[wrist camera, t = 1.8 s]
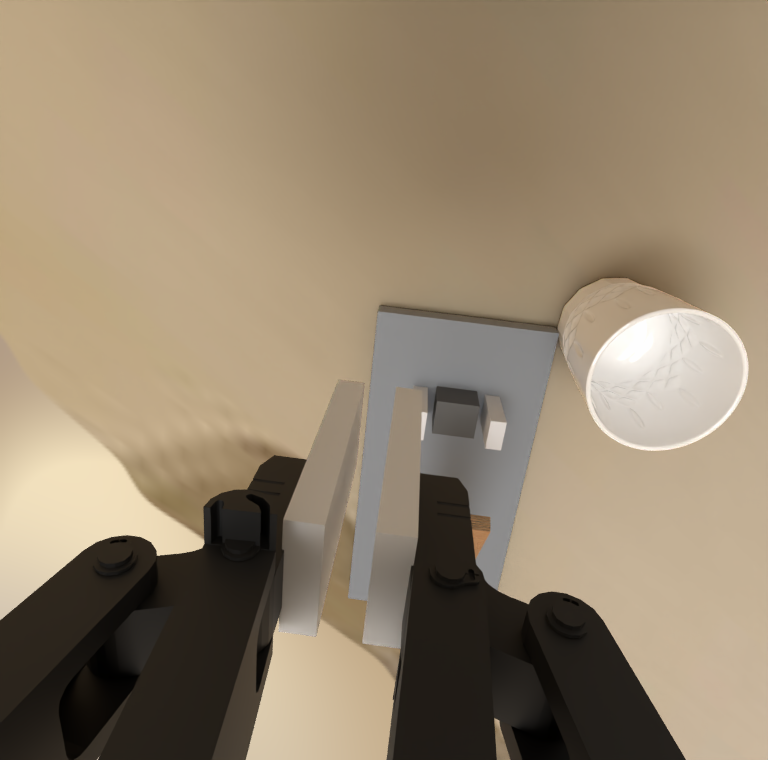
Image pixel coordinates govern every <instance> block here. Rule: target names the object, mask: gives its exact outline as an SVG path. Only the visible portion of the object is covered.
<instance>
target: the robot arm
mask: <svg viewBox="0 0 768 760" xmlns="http://www.w3.org/2000/svg"><path fill="white" fill-rule="evenodd" d="M364 384H365V383H362V382H354V381H346V380H338V382H337V385H336V388H335V390H334V393H333V395H332V398H331V400H330V403H329V405H328V408H327V410H326V413H325V415H324V418H323V420H322V423H321V425H320V428H319V430H318V433H317V435H316V438H315V440H314V443H313V446H312V448H311V451H310V453H309V456H308V458H307V460H306V459H298V458H290V457H283V456H275V455H274V456H273V457H272V458H270V459H269V460H267V461H266V462H264V463H263V464H262V465H260V467H259V469H258V471H257V472H256V474H255V476H254V478H253V481H252V482H251V484H250V485H249V487H248V490H232V491H228V492H224V493H221V494H219V495H217V496H215V497H213V498H212V499H210V500H209V501H208V503H207V504H206V505H205V506H204V542H205V544H204V546H203V548H202V549H199V550H196V551H193V552H187V553H182V554H171V555H161V556H157V554H156V549H155V548H154V546H153V545H152V543H151V542H149V541H147V540H145V539H143V538H141V537H135V536H128V535H127V536H118V537H111V538H108V539H105V540H102V541H99V542H97V543H95V544H93V545H92V546H90V547H88V548H87V549H85V550H84V551H82V552H81V553H80V554H79V555H78V556H76V557H75V558H74V559H73V560H72V561H71V562H69V563H68V564H67V565H66V566H65V567H63V568H62V569H61V570H60V571H59V572H57V573H56V574H55V575H54V576H53V577H51V578H50V579H49V580H48V581H47V582H46V583H44V584H43V585H42V586H41V587H40V588H38V589H37V590H36V591H35V592H34V593H32V594H31V595H30V596H29V597H28V598H26V599H25V600H24V601H23V602H22V603H20V604H19V605H18V606H17V607H16V608H14V609H13V610H12V611H11V612H10V613H9V614H7V615H6V616H5V617H4V618H3V619H1V620H0V760H97V759H98V757H99V756H100V757H99V759H98V760H246V756H247V752H248V748H249V744H250V740H251V736H252V732H253V729H254V724H255V721H256V717H257V712H258V709H259V705H260V701H261V697H262V692H263V689H264V685H265V681H266V677H267V673H268V669H269V665H270V660H271V657H272V647H273V633H274V630H275V627H276V624H277V621H278V618H279V632H286V633H293V634H301V635H307V636H314V637H316V636H317V631H318V627H319V622H320V618H321V614H322V610H323V606H324V601H325V597H326V593H327V588H328V584H329V580H330V576H331V571H332V567H333V563H334V558H335V554H336V550H337V546H338V541H339V537H340V533H341V528H342V524H343V520H344V516H345V511H346V507H347V503H348V498H349V494H350V490H351V485H352V481H353V477H354V473H355V468H356V464H357V455H358V444H359V434H360V424H361V414H362V404H363V394H364ZM421 421H422V390H417V389H409V388H401V387H396V393H395V400H394V407H393V414H392V421H391V428H390V435H389V442H388V450H387V457H386V464H385V471H384V478H383V485H382V492H381V499H380V506H379V513H378V521H377V528H376V535H375V543H374V552H373V560H372V568H371V576H370V584H369V592H368V601H367V609H366V617H365V625H364V633H363V642H362V643H364V644H371V645H378V646H385V647H392V648H399V649H400V647H401V650H400V657H399V664H398V670H397V676H396V682H395V689H394V695H393V700H394V703H393V712H392V719H391V728H390V737H389V745H388V754H387V760H497V758H496V742H495V726H494V718H496V719H498V720H500V727H501V731H502V734H503V737H504V740H505V743H506V747H507V750H508V753H509V756H510V759H511V760H686V759H685V758H684V756H683V754H682V752H681V751H680V749H679V747H678V746H677V744H676V742H675V741H674V739H673V737H672V736H671V734H670V732H669V731H668V729H667V727H666V726H665V724H664V722H663V721H662V719H661V717H660V715H659V714H658V712H657V710H656V709H655V707H654V705H653V704H652V702H651V700H650V699H649V697H648V695H647V694H646V692H645V690H644V689H643V687H642V685H641V684H640V682H639V680H638V679H637V677H636V675H635V673H634V672H633V670H632V668H631V667H630V665H629V663H628V662H627V660H626V658H625V657H624V655H623V653H622V652H621V650H620V648H619V647H618V645H617V643H616V642H615V640H614V638H613V636H612V635H611V633H610V631H609V630H608V628H607V626H606V625H605V623H604V621H603V620H602V619H601V617H600V616H599V615H598V614H597V613H596V611H595V610H594V609H593V608H591V607H590V606H589V605H587V604H586V603H584V602H583V601H582V600H580V599H578V598H575V597H573V596H570V595H568V594H565V593H558V592H546V593H541V594H538V595H537V596H535V597H534V598H533V599H531V601H530V603H529V604H526V603H524V602H521V601H519V600H516V599H514V598H511V597H509V596H507V595H505V594H503V593H501V592H499V591H497V590H496V589H494V588H493V587H492V586H490V585H489V584H488V583H487V582H486V581H485V578H484V575H483V572H482V571H481V570H480V569H479V567H478V566H477V565H476V559H475V550H474V541H473V532H472V523H471V514H470V508H469V506H470V505H469V496H468V491H467V490H466V488H465V487H464V485H463V484H462V483H461V481H460V480H459V479H458V478H454V477H446V476H438V475H431V474H423V473H420V455H421Z"/></svg>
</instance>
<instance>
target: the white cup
mask: <svg viewBox="0 0 768 760" xmlns="http://www.w3.org/2000/svg"><path fill="white" fill-rule="evenodd" d="M557 330H558V333H559V342H560V348H561V350H562V352H563V354H564V356H565V360H566V362H567V365H568V368H569V370H570V372H571V374H572V377H573V379H574V381H575V383H576V385H577V387H578V389H579V391H580V393H581V395H582V397H583V399H584V401H585V403H586V405H587V407H588V409H589V411H590V413H591V415H592V417H593V419H594V421H595V422H596V424H597V425H598V426H599V428H600V429H601V430H602V431H603V432H604V433H605V434H607V435H608V436H609V437H610V438H612V439H613V440H615V441H617V442H619V443H621V444H623V445H626V446H628V447H632V448H635V449H641V450H650V451H660V450H669V449H675V448H679V447H682V446H685V445H688V444H691V443H693V442H696V441H698V440H700V439H702V438H703V437H705V436H707V435H708V434H710V433H711V432H713V431H714V430H715V429H717V428H718V427H719V426H720V425H721V424H722V423H723V422H725V420H726V419H727V418H728V417H729V416H730V415H731V414H732V412H733V411H734V410H735V408H736V407H737V405H738V403H739V402H740V400H741V398H742V396H743V393H744V391H745V388H746V384H747V379H748V358H747V353H746V350H745V347H744V345H743V343H742V341H741V339H740V337H739V336H738V334H737V333H736V332H735V331H734V330H733V329H732V328H731V327H730V326H729V325H728V324H727V323H726V322H724V321H723V320H721V319H720V318H718V317H716V316H714V315H712V314H710V313H708V312H706V311H704V310H702V309H700V308H698V307H695V306H693V305H691V304H689V303H687V302H685V301H683V300H681V299H679V298H677V297H675V296H672V295H670V294H667V293H665V292H663V291H660V290H658V289H655V288H653V287H650V286H645V285H641V284H639V283H637V282H635V281H633V280H630V279H628V278H602V279H600V280H598V281H596V282H594V283H591V284H589V285H587V286H585V287H583V288H581V289H579V291H578V292H577V293H576V294H575V295H574V296H573V297H572V298H571V299H570V300H569V302H568V303H567V304H566V305H565V306H564V308H563V311H562V314H561V317H560V320H559V324H558V327H557Z"/></svg>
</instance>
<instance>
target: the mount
mask: <svg viewBox="0 0 768 760" xmlns="http://www.w3.org/2000/svg"><path fill="white" fill-rule="evenodd" d="M558 337H559V333H558V331H557V330H556V328H555V327H551V326H543V325H535V324H527V323H519V322H510V321H502V320H494V319H486V318H478V317H470V316H462V315H453V314H445V313H437V312H429V311H421V310H413V309H405V308H397V307H388V306H380V307H379V310H378V316H377V325H376V335H375V345H374V354H373V364H372V374H371V383H370V393H369V402H368V412H367V422H366V431H365V441H364V451H363V460H362V470H361V479H360V489H359V499H358V508H357V518H356V527H355V537H354V547H353V556H352V566H351V576H350V585H349V595H348V598H351V599H358V600H365V601H368V592H369V584H370V576H371V568H372V560H373V552H374V543H375V535H376V528H377V521H378V513H379V506H380V499H381V492H382V485H383V478H384V471H385V464H386V457H387V450H388V442H389V435H390V428H391V421H392V414H393V407H394V400H395V393H396V387H401V388H409V389H417V390H422V421H421V455H420V473H423V474H431V475H438V476H446V477H454V478H458V479H459V480H460V481H461V483H462V484H463V485H464V487H465V488H466V490H467V491H468V496H469V505H470V506H469V508H470V514H472V515H480V516H487V517H490V534H489V535H488V537H487V539H486V541H485V543H484V545H483V547H482V548H481V550H480V552H479V554H478V556H477V558H476V565H477V566H478V567H479V569H480V570H481V571H482V572H483V575H484V578H485V581H486V582H487V583H488V584H489V585H490V586H492V587H493V588H494V589H496V590H498V585H499V581H500V577H501V573H502V569H503V565H504V561H505V556H506V552H507V548H508V544H509V540H510V536H511V532H512V527H513V523H514V519H515V515H516V511H517V507H518V502H519V498H520V494H521V490H522V486H523V482H524V478H525V473H526V469H527V465H528V461H529V457H530V453H531V449H532V444H533V440H534V436H535V432H536V428H537V424H538V420H539V415H540V411H541V407H542V403H543V399H544V395H545V391H546V386H547V382H548V378H549V374H550V370H551V366H552V362H553V357H554V353H555V349H556V345H557V341H558Z"/></svg>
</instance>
